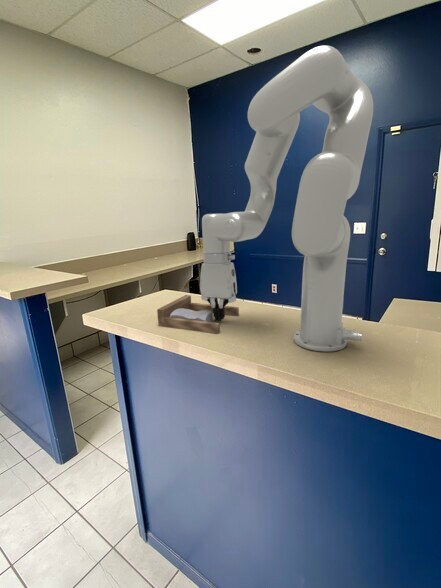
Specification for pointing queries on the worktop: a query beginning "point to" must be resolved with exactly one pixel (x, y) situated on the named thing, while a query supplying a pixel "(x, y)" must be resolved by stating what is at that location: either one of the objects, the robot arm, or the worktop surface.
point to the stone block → (192, 315)
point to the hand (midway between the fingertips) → (219, 319)
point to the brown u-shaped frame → (188, 324)
